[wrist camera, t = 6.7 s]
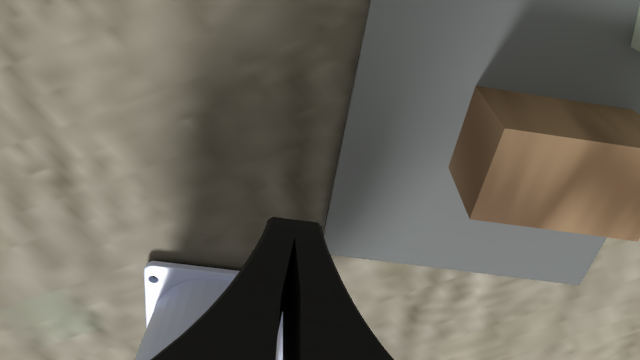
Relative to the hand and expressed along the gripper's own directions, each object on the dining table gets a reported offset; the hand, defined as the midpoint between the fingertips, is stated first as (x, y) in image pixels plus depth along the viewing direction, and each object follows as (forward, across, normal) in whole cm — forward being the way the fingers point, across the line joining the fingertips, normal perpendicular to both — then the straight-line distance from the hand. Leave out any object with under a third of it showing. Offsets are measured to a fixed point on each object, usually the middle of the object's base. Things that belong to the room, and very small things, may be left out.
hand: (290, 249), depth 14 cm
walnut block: (+8, -7, 0) cm, 10 cm away
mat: (+10, -9, 0) cm, 13 cm away
